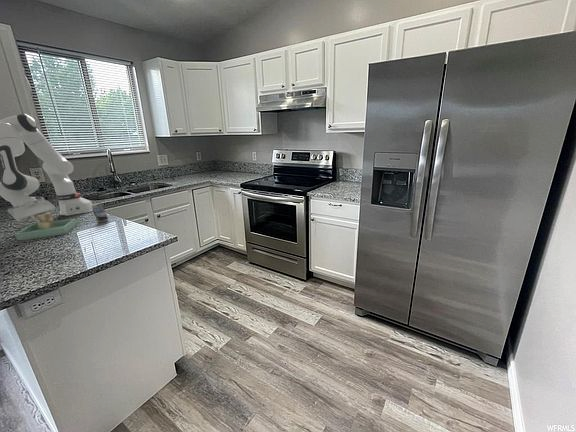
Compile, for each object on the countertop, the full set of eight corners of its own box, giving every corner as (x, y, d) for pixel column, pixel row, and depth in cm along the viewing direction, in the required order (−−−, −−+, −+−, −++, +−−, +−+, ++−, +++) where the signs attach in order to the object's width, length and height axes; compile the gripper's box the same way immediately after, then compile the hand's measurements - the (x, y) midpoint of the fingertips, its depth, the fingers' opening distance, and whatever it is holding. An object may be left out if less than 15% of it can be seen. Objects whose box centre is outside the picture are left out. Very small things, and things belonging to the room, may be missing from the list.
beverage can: (102, 223, 167) (97, 205, 164) (93, 222, 169) (87, 205, 165) (110, 219, 173) (106, 202, 169) (101, 219, 175) (96, 202, 171)
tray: (77, 224, 167) (75, 218, 166) (66, 233, 151) (63, 227, 150) (34, 230, 160) (31, 224, 159) (17, 240, 144) (14, 234, 143)
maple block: (47, 225, 157) (43, 213, 155) (55, 225, 156) (50, 213, 154) (39, 228, 152) (34, 215, 150) (46, 228, 152) (42, 215, 149)
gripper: (7, 205, 140) (29, 222, 142) (45, 196, 160) (64, 211, 162) (3, 213, 142) (24, 230, 144) (41, 203, 162) (59, 218, 163)
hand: (45, 220), depth 153 cm, fingers closed on maple block, 5 cm apart
